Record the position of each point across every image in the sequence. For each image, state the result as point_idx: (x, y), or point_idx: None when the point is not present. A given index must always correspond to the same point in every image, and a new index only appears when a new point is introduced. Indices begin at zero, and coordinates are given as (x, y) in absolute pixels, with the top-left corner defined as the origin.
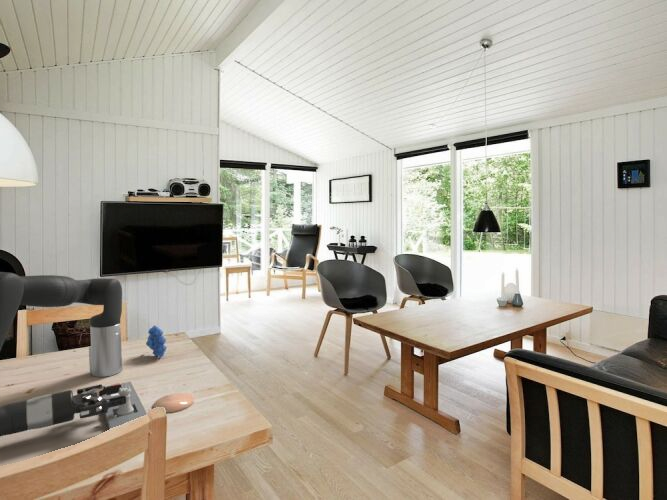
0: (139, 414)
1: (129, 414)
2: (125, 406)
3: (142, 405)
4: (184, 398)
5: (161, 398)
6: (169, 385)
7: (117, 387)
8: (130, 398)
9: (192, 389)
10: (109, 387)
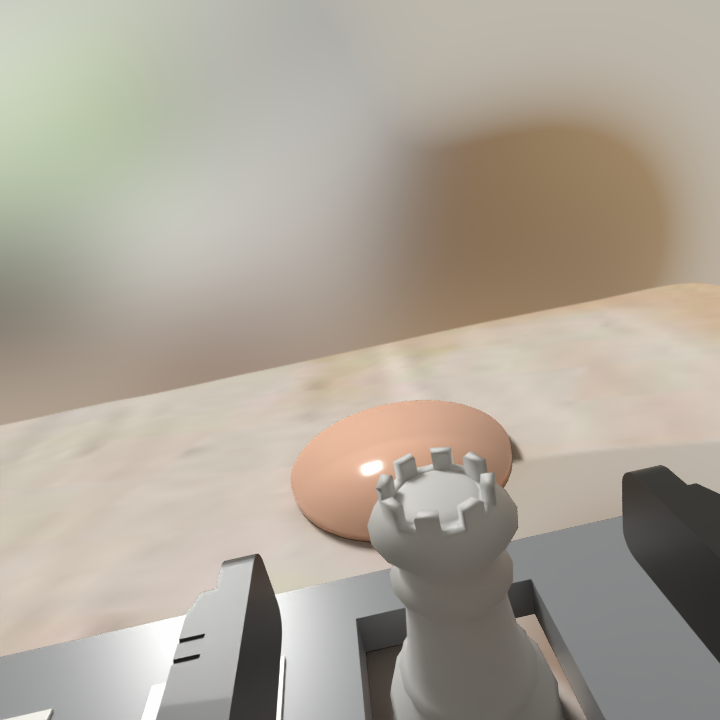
0: (588, 566)
1: (572, 638)
2: (517, 627)
3: None
4: (383, 426)
5: (315, 503)
6: (139, 500)
7: (257, 602)
8: None
9: (278, 425)
10: (237, 679)
